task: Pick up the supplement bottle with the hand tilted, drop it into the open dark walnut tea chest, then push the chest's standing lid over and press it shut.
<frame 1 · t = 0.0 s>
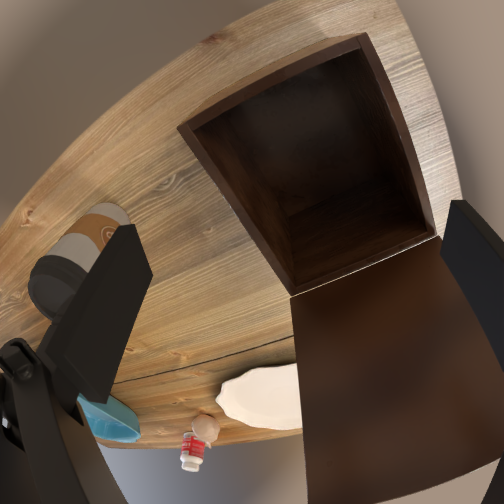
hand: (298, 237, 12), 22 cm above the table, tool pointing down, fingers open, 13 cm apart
garlic bulb: (207, 415, 70), on the table
coffee cup: (111, 221, 39), on the table
plate: (289, 393, 62), on the table
lid: (396, 363, 18), point 22 cm above the table, hinge at 95.0°
casserole dish: (84, 391, 69), on the table
chest: (306, 134, 32), on the table
pill bottle: (194, 434, 79), on the table
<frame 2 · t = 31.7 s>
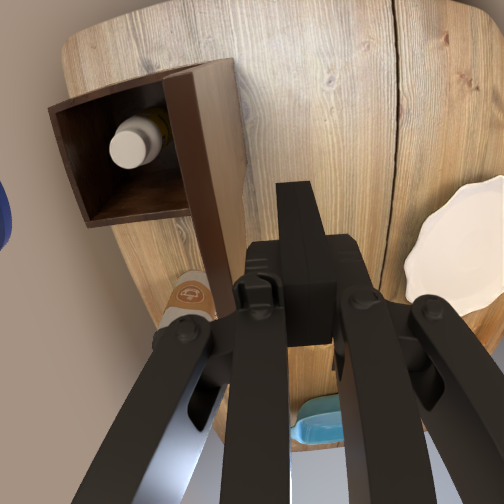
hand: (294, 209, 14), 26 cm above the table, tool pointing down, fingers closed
supplement bottle: (157, 125, 36), point 1 cm above the table, touching chest
coffee cup: (197, 283, 52), on the table
plate: (473, 249, 46), on the table
lid: (226, 182, 18), point 22 cm above the table, hinge at 95.0°, touching gripper
casserole dish: (355, 403, 76), on the table
chest: (174, 121, 37), on the table
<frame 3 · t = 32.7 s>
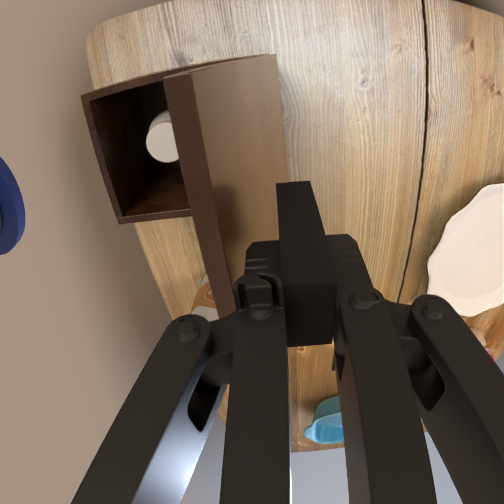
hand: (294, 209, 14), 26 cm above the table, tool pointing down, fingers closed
supplement bottle: (188, 120, 36), point 1 cm above the table, touching chest
garlic bulb: (464, 330, 58), on the table
coffee cup: (222, 282, 52), on the table
plate: (490, 248, 45), on the table
lid: (262, 179, 18), point 22 cm above the table, hinge at 81.6°, touching gripper
casserole dish: (369, 402, 76), on the table
chest: (206, 116, 36), on the table
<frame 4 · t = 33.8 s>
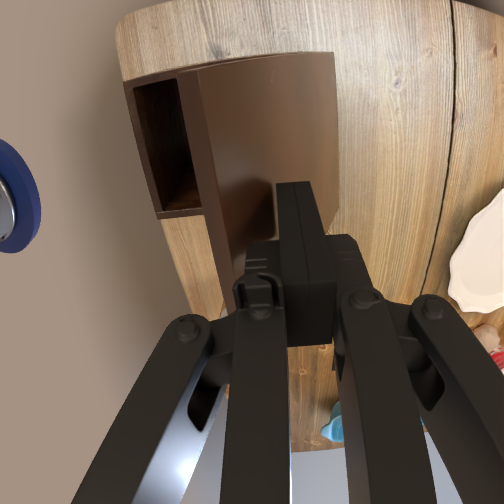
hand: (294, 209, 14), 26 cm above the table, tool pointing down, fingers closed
garlic bulb: (479, 327, 58), on the table
lid: (300, 172, 18), point 21 cm above the table, hinge at 66.4°, touching gripper
casserole dish: (384, 399, 75), on the table
chest: (242, 111, 36), on the table
pill bottle: (491, 350, 64), on the table
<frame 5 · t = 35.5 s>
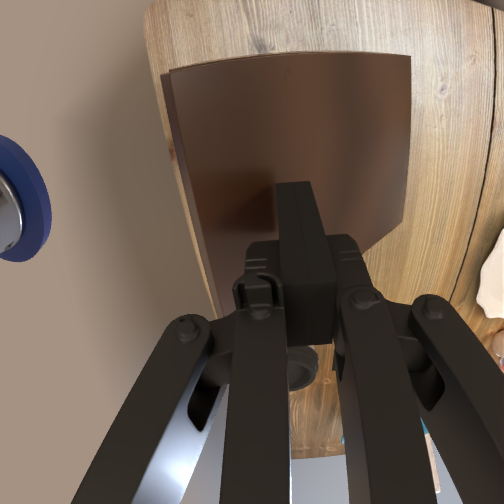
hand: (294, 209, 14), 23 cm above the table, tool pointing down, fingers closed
garlic bulb: (499, 332, 55), on the table
coffee cup: (281, 291, 48), on the table
lid: (336, 174, 17), point 19 cm above the table, hinge at 40.7°
chest: (286, 111, 33), on the table
tall pillar cylinder: (414, 434, 88), on the table
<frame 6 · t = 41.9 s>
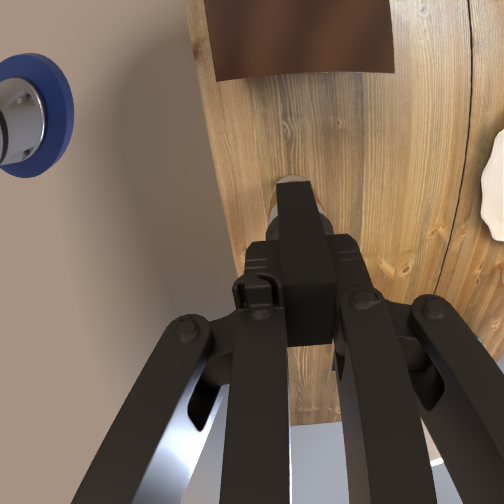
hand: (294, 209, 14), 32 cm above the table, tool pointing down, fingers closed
coffee cup: (292, 192, 49), on the table
lid: (301, 7, 23), point 14 cm above the table, hinge at 2.4°
tall pillar cylinder: (425, 396, 89), on the table
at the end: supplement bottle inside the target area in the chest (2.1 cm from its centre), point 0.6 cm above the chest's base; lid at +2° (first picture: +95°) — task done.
